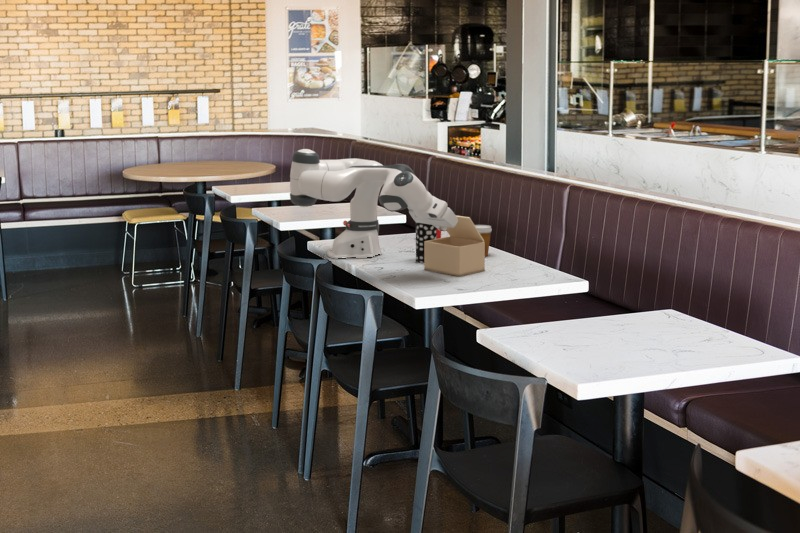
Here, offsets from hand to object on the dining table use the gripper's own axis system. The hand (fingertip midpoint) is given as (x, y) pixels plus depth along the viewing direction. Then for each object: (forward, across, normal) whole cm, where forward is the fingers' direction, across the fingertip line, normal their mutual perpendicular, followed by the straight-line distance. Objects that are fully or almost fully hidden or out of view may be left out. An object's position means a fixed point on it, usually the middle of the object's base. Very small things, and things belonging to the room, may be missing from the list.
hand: (443, 229), depth 360 cm
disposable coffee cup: (+36, -12, +13) cm, 40 cm away
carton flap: (+7, 0, +6) cm, 9 cm away
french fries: (+42, -45, +18) cm, 64 cm away
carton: (+16, 0, -7) cm, 18 cm away
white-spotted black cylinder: (+20, -20, -4) cm, 28 cm away
